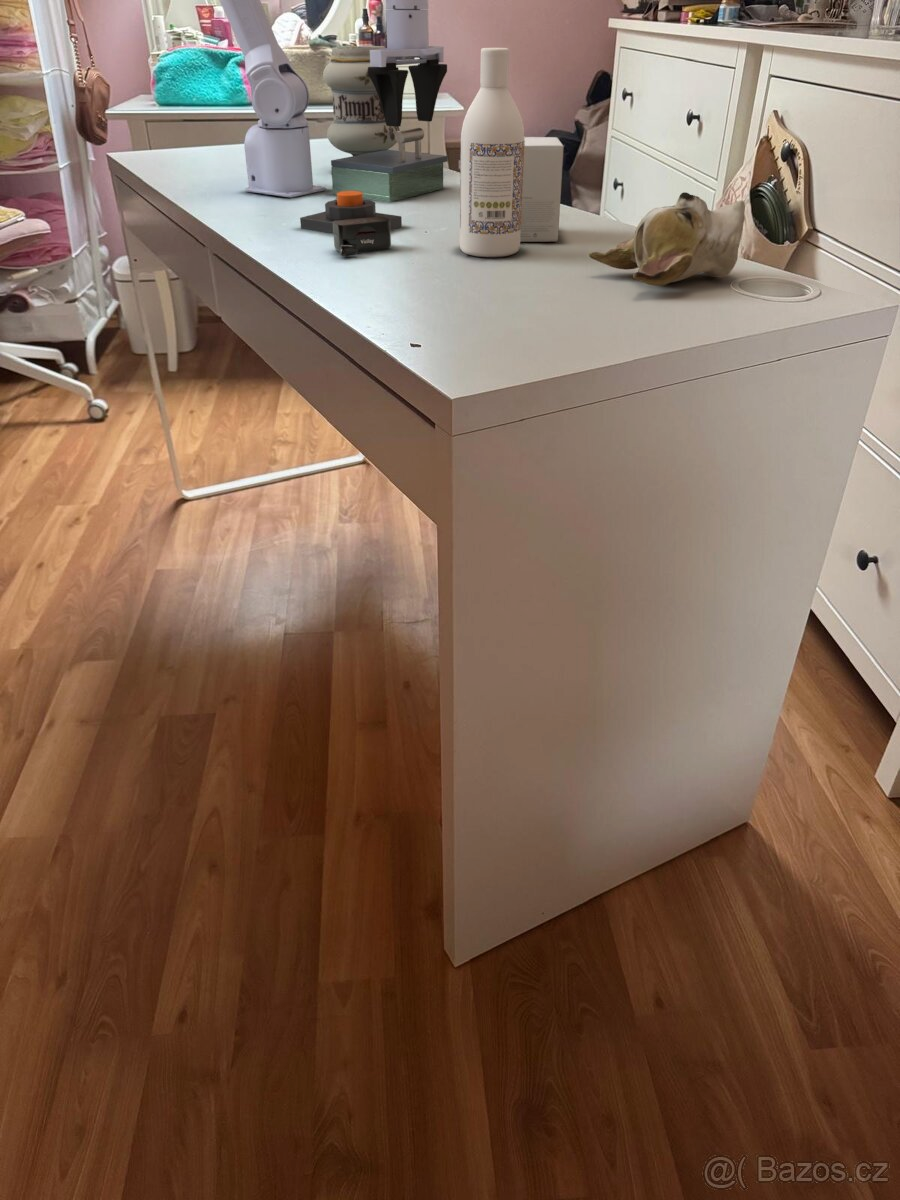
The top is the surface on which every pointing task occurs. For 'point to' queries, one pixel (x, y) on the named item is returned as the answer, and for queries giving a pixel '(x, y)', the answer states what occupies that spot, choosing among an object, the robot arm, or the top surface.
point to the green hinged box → (388, 182)
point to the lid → (393, 156)
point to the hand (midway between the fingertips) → (409, 123)
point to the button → (349, 198)
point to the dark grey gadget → (361, 235)
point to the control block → (344, 216)
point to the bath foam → (491, 164)
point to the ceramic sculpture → (681, 242)
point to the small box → (541, 189)
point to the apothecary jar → (356, 104)
